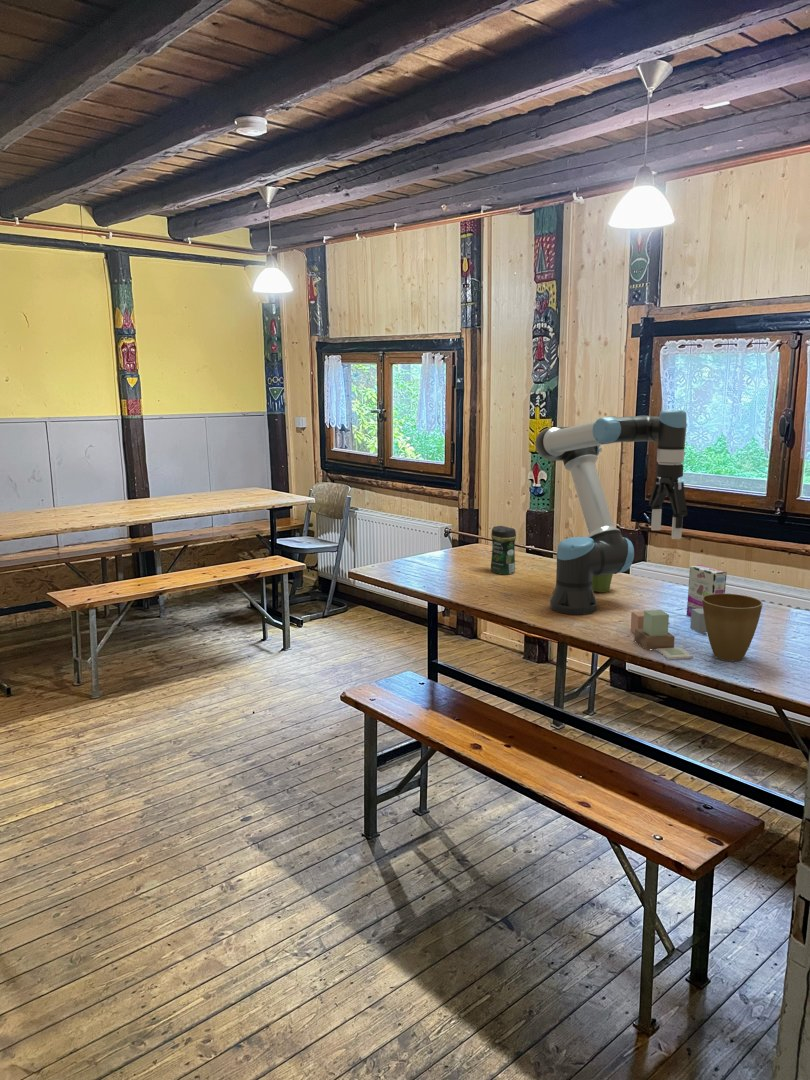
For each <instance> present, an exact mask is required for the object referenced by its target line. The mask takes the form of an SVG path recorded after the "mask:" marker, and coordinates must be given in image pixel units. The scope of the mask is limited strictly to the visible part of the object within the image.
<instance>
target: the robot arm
mask: <svg viewBox="0 0 810 1080" xmlns="http://www.w3.org/2000/svg"><path fill="white" fill-rule="evenodd" d="M687 427H688V424H687V412H686V411H685V410H681V409H680V410H679V409H678V410H677V409H676V410H674V409H669V410H668V409H665V410H663V409H662V410H660V412H659V416H654V415H653V416H652V415H637V416H605V417H599V418H597V419H596V420H595V421H591V422H587V423H581V424H578V425H572V426H553V427H552V426H551V427H548V428H547V427H546V428H545V429H542V431H540V432H539V433H538V434H537V436H536V438H535V441H534V442H535V443H534V444H535V445H534V446H535V450H536V452H537V454H538V455H539V456H540V457H541V458H543V459H544V460H547V461H552V462H553V461H556V462H558V461H561V462H563V463H562V464H563V466H564V469H565V470H567V471H569V472H570V474H571V478H572V481H573V484H574V488H575V490H576V494H577V497H578V501H579V504H580V507H581V512H582V514H583V518H584V521H585V524H586V529H587V532H588V536H574V537H573V536H572V537H568V538H564V539H562V540H561V541H560V542H559V543H558V545H557V550H556V554H555V555H556V577H555V579H556V580H555V587H554V588H553V592H552V596H551V597H550V600H549V608H550V609H551V611H554V612H557V613H560V614H566V615H574V616H575V615H577V616H578V615H579V616H581V615H588V614H593V613H595V612H596V611H597V607H598V605H597V604H598V603H597V600H596V596H595V593H594V592H595V591H593V589H592V576H598V575H606V574H613V575H616V574H617V575H618V574H620V573H624V572H626V571H628V570H629V569H630V568H631V566H632V564H633V561H634V560H635V548H634V545H633V543H632V541H631V540H630V539H629V538H628V537H623V535H622V532H621V530H620V529H619V528H617V527H615V524H614V522H613V518H612V514H611V512H610V508H609V507H608V502H607V499H606V495H605V493H604V489H603V487H602V482H601V479H600V477H599V474H598V470H597V468H596V467H597V466H596V463H597V461H598V459H599V457H598V455H599V454H600V452H601V448H600V447H601V446H602V445H610V444H615V443H630V442H631V443H632V442H633V443H634V442H636V443H637V442H656V443H657V448H656V449H657V452H656V462H657V465H656V468H655V469H656V470H655V471H656V472H655V476H656V477H655V478H654V485H653V488H652V491H651V494H650V498H649V502H648V505H649V507H650V509H651V510H652V511H651V521H650V522H651V525H650V530H651V531H661V528H662V527H661V526H662V513H663V512H662V511H663V507H662V505H663V503H664V501H665V499H666V497H667V498H668V499H669V501H670V506H671V508H672V511H673V515H672V522H671V523H672V524H671V540H682V536H683V535H682V533H683V519H684V517H686V516H688V508H687V507H688V506H687V502H686V497H685V496H686V495H685V484H684V482H683V481H679V479H680V478H682V477H683V476H684V465H683V463H684V459H685V455H686V451H685V448H686V447H685V446H686V436H687V434H686V432H687Z"/></svg>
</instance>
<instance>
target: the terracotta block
mask: <svg viewBox="0 0 810 1080" xmlns="http://www.w3.org/2000/svg"><path fill="white" fill-rule="evenodd" d="M643 621H644V610H639V611H637V610H635V611H631V614H630V630H631V632H632V633H633V634H634V633H635V629H643Z"/></svg>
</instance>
